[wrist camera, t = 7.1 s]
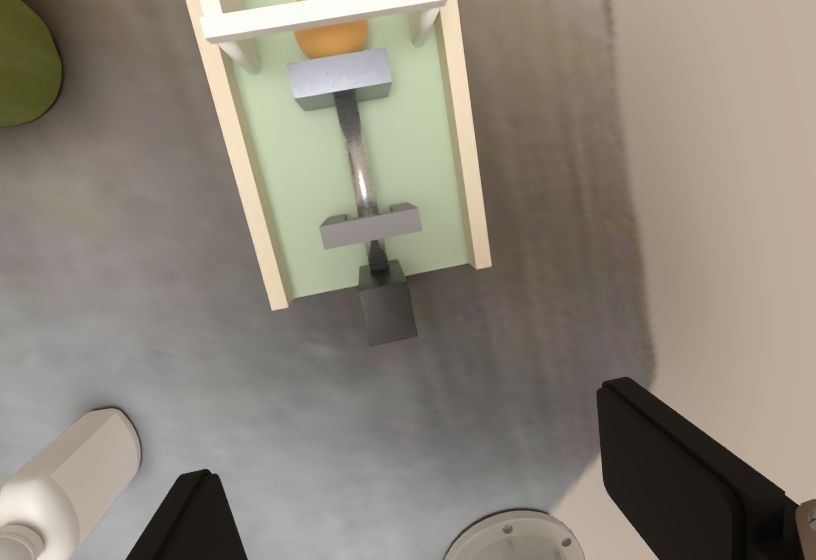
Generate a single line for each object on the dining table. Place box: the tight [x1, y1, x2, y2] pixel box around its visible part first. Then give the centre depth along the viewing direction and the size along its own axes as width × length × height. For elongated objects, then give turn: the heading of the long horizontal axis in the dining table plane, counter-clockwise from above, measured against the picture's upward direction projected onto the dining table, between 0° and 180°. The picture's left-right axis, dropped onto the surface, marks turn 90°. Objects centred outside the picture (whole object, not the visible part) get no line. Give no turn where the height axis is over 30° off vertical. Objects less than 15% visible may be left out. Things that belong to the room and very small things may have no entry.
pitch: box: [186, 0, 492, 311], centre depth 23 cm, size 20×14×8 cm
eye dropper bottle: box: [0, 408, 141, 560], centre depth 24 cm, size 4×6×12 cm
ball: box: [293, 0, 368, 60], centre depth 22 cm, size 4×4×4 cm
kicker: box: [286, 47, 417, 346], centre depth 23 cm, size 14×5×6 cm, turn 10°
